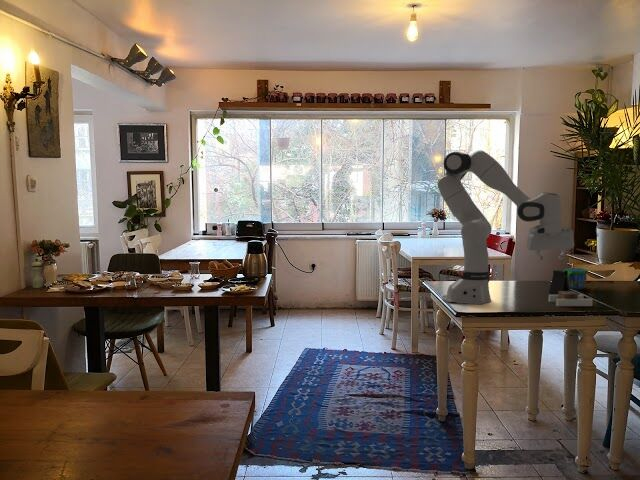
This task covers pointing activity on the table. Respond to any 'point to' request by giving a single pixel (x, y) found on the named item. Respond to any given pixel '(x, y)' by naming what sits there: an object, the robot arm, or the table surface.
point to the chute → (570, 301)
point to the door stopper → (559, 281)
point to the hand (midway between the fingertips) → (550, 259)
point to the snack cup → (576, 277)
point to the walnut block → (567, 295)
